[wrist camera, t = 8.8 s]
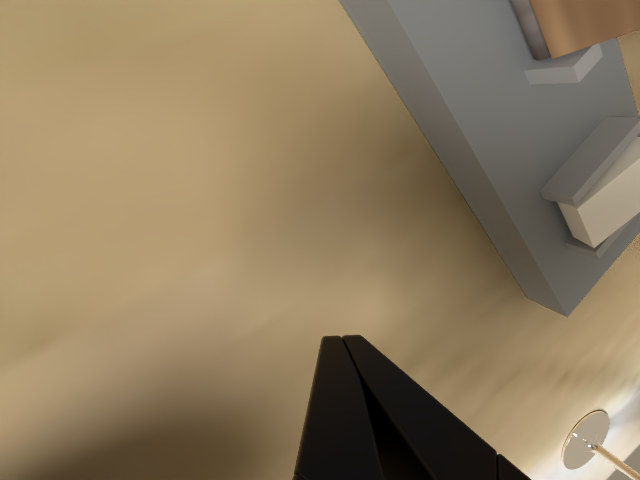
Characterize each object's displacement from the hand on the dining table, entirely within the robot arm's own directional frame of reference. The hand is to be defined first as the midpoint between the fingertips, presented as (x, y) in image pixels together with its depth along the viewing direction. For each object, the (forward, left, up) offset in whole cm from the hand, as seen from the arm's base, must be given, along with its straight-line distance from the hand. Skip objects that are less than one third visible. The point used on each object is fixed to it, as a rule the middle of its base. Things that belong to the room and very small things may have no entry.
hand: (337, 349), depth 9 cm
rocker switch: (0, -20, -7) cm, 21 cm away
